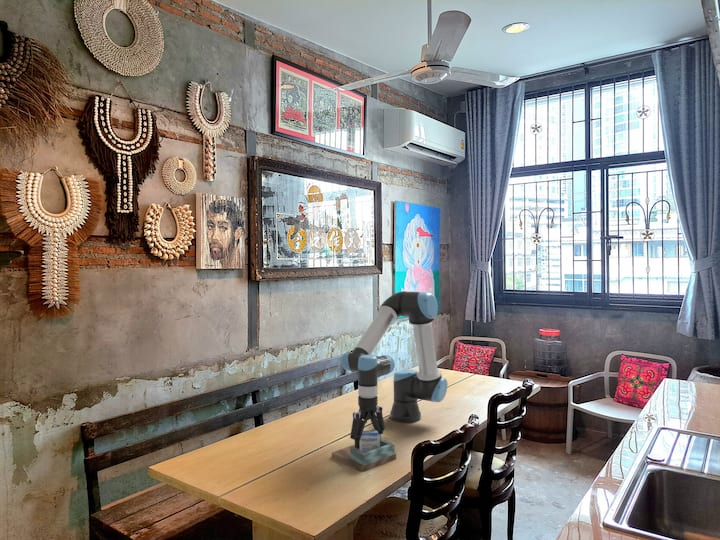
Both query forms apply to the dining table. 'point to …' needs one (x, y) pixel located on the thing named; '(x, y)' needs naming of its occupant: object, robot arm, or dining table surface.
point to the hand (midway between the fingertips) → (368, 452)
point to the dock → (366, 456)
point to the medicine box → (369, 440)
